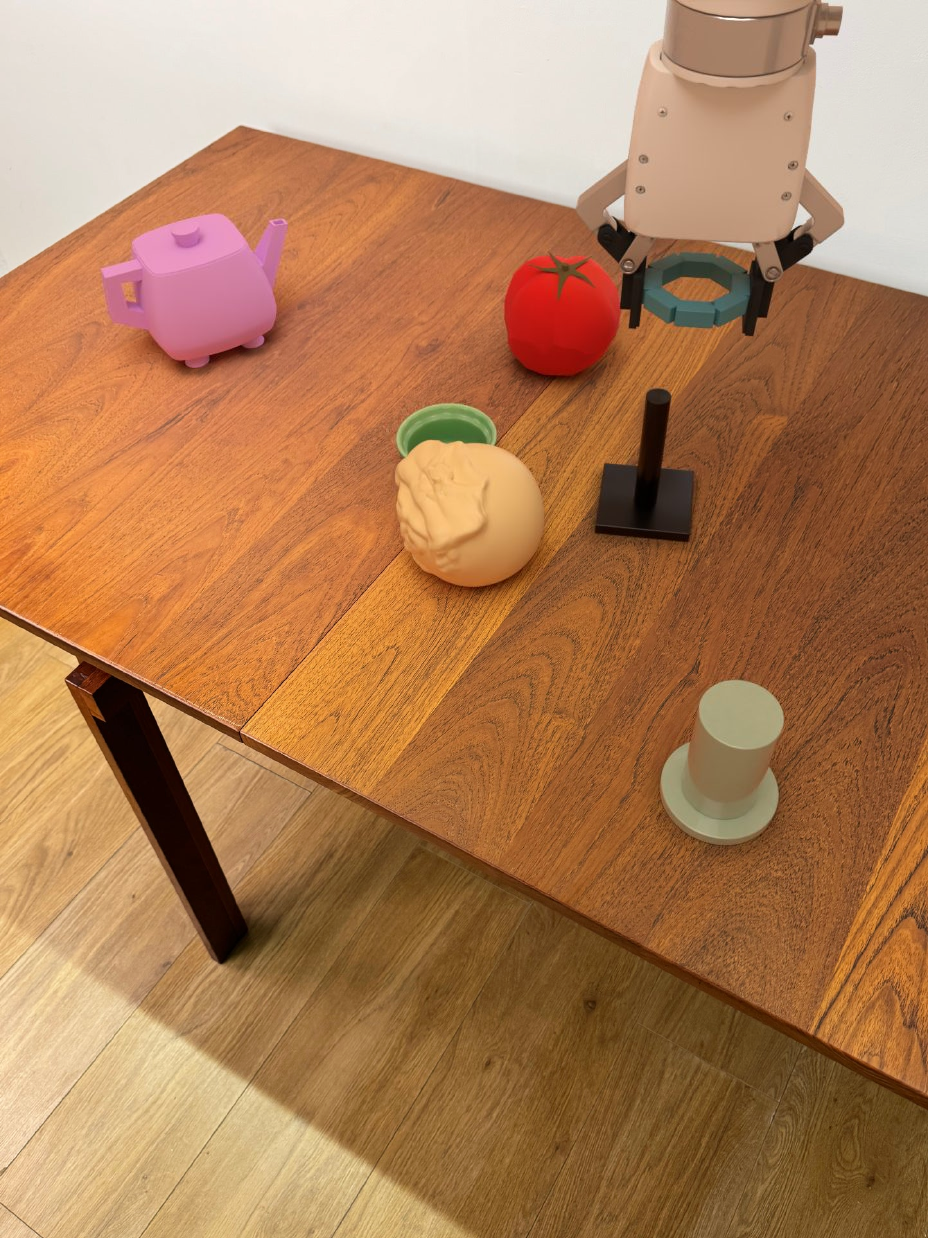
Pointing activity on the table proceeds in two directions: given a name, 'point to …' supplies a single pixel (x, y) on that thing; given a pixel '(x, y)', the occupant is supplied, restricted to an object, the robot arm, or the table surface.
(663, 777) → the ring stand
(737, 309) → the ring
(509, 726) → the table surface
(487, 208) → the table surface
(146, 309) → the teapot
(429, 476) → the sculpture
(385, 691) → the table surface
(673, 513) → the black peg stand
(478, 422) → the ramekin
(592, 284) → the tomato
